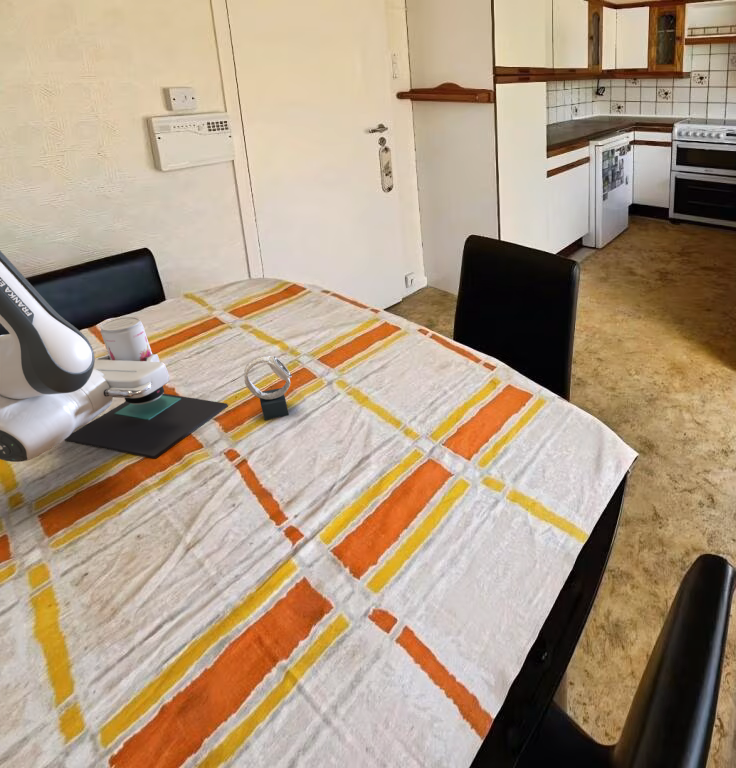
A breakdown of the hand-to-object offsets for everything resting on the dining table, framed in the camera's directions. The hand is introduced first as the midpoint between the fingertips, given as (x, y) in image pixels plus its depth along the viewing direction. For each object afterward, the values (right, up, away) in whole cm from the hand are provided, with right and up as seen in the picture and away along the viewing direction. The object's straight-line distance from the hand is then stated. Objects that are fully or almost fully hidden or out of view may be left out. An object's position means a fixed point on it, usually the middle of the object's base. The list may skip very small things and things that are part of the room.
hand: (135, 356), depth 114 cm
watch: (+25, -10, +3) cm, 27 cm away
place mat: (+3, -12, 0) cm, 12 cm away
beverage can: (0, -8, +3) cm, 8 cm away
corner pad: (0, -10, +4) cm, 11 cm away
